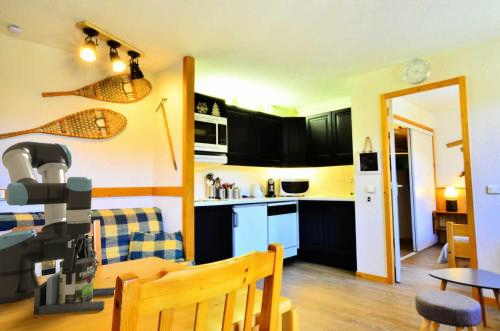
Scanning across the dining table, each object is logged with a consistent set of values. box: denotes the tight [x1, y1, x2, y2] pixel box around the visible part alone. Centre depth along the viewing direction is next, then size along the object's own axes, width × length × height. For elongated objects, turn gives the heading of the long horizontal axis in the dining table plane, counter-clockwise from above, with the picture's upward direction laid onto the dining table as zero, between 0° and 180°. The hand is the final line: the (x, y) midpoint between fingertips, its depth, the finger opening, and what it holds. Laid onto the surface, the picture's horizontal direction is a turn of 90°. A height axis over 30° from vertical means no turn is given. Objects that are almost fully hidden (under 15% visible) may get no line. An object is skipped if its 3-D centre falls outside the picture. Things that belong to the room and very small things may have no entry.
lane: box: [33, 280, 116, 316], centre depth 100 cm, size 20×14×8 cm
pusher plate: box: [46, 270, 60, 305], centre depth 98 cm, size 2×11×10 cm, turn 10°
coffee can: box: [58, 257, 95, 304], centre depth 100 cm, size 10×10×14 cm
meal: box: [89, 247, 99, 282], centre depth 128 cm, size 15×4×13 cm, turn 52°
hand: (76, 288), depth 100 cm, fingers closed on coffee can, 10 cm apart
